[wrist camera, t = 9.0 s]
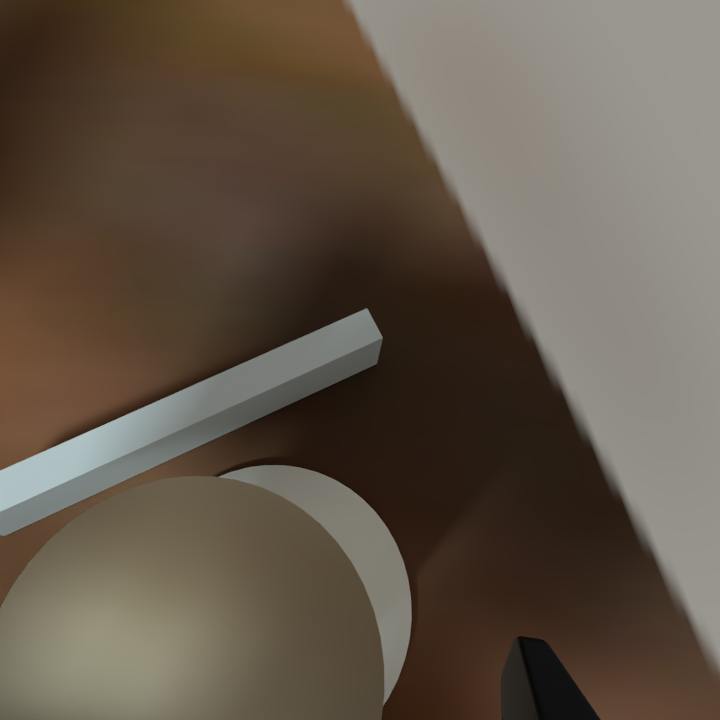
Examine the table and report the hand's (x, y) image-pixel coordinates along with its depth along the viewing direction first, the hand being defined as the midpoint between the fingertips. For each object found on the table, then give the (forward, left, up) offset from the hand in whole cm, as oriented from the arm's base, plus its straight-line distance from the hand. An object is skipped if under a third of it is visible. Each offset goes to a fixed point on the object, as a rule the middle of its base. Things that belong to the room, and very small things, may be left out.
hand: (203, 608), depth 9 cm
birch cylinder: (-1, 0, -9) cm, 9 cm away
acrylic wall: (+3, +4, -9) cm, 10 cm away
